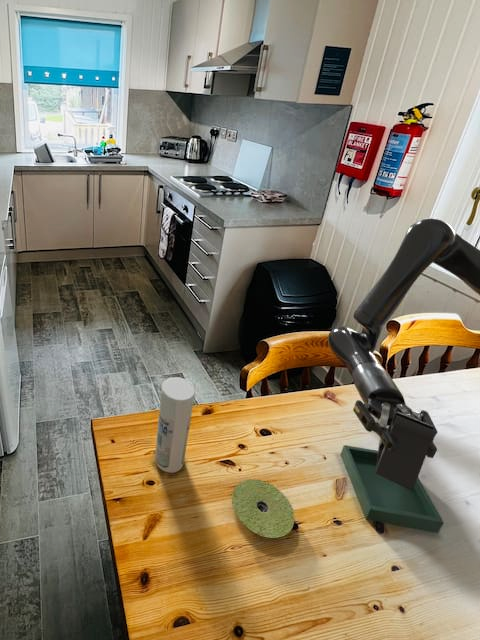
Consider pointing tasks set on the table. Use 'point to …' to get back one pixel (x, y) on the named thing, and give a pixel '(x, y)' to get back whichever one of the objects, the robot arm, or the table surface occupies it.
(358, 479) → the tray
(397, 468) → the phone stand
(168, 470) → the spray can
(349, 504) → the table surface
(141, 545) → the table surface
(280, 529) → the green abrasive disc
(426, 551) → the table surface
